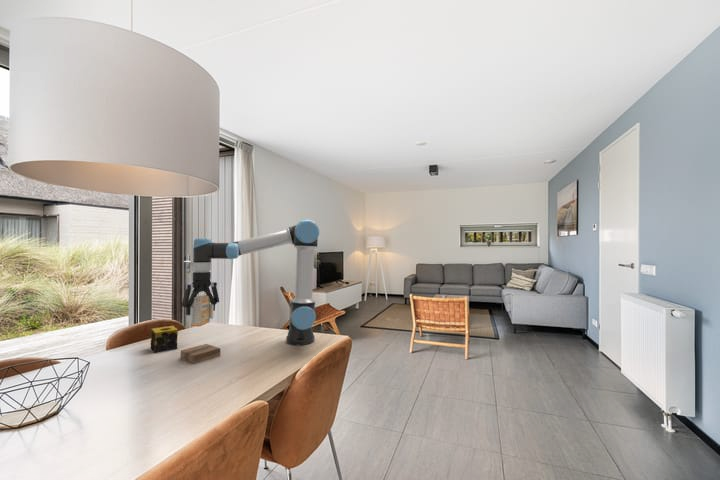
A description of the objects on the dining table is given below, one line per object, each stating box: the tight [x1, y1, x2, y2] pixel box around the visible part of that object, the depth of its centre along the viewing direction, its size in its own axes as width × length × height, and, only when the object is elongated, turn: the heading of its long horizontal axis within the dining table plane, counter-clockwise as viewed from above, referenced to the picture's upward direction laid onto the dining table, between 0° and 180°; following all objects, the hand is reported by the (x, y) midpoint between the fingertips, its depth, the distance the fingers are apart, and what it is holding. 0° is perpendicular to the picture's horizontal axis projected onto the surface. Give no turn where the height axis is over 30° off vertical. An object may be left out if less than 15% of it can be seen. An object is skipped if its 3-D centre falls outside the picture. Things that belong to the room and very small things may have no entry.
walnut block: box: [180, 343, 221, 365], centre depth 143 cm, size 12×12×4 cm
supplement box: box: [190, 294, 211, 327], centre depth 144 cm, size 8×5×13 cm, turn 179°
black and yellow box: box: [150, 325, 179, 354], centre depth 155 cm, size 10×10×10 cm
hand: (200, 320), depth 143 cm, fingers closed on supplement box, 9 cm apart
